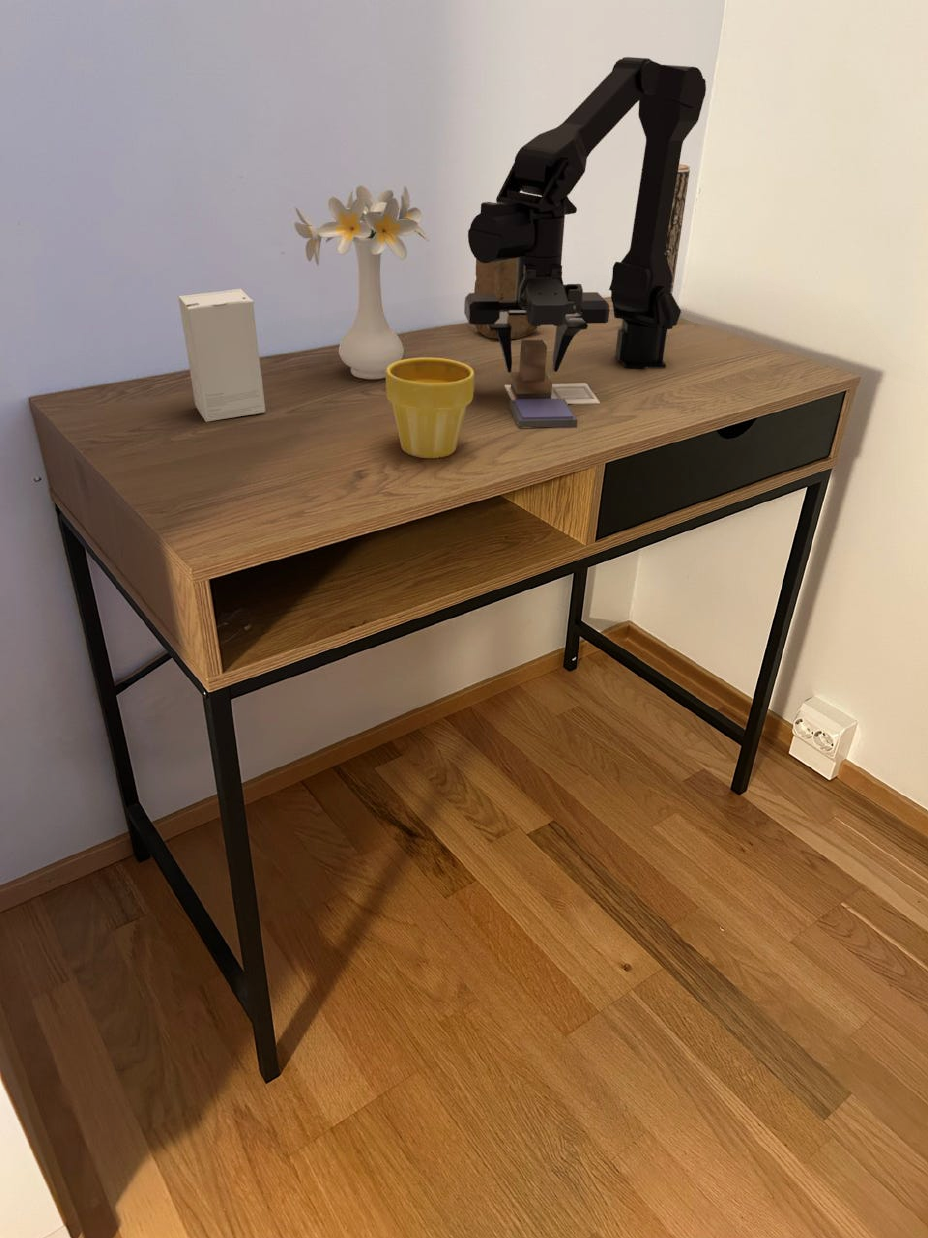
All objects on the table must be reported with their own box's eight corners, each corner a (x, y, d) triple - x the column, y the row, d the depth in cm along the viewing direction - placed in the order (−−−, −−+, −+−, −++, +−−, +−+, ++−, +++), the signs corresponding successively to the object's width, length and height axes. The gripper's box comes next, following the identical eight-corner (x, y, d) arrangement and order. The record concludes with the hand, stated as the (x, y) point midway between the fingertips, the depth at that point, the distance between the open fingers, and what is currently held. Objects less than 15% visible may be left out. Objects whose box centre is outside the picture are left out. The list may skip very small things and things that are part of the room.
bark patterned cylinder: (628, 326, 164) (647, 167, 150) (629, 315, 169) (647, 161, 156) (668, 328, 163) (691, 169, 149) (667, 318, 168) (689, 163, 155)
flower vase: (291, 373, 138) (278, 186, 124) (397, 352, 147) (395, 177, 134) (338, 399, 129) (328, 201, 116) (446, 375, 139) (450, 190, 125)
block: (492, 343, 153) (497, 210, 142) (468, 331, 158) (472, 202, 147) (547, 335, 158) (557, 206, 147) (523, 324, 163) (530, 198, 152)
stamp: (544, 386, 135) (547, 337, 131) (550, 398, 131) (555, 348, 127) (510, 387, 134) (513, 338, 130) (516, 399, 130) (519, 348, 126)
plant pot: (454, 428, 121) (456, 352, 116) (484, 459, 113) (487, 379, 108) (376, 437, 118) (375, 359, 113) (401, 469, 110) (400, 387, 105)
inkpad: (564, 406, 129) (564, 397, 128) (576, 426, 123) (577, 417, 122) (509, 407, 128) (509, 398, 128) (519, 428, 122) (519, 418, 121)
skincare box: (254, 400, 128) (243, 286, 120) (267, 414, 124) (256, 298, 116) (192, 408, 125) (176, 292, 117) (202, 423, 120) (187, 304, 112)
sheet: (586, 384, 137) (586, 382, 137) (599, 403, 130) (600, 401, 130) (504, 385, 136) (504, 383, 135) (514, 405, 129) (514, 403, 129)
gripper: (477, 267, 115) (473, 392, 123) (626, 266, 117) (612, 389, 125) (465, 247, 124) (462, 365, 132) (604, 247, 126) (592, 363, 135)
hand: (532, 371), depth 131 cm, fingers open, 6 cm apart
